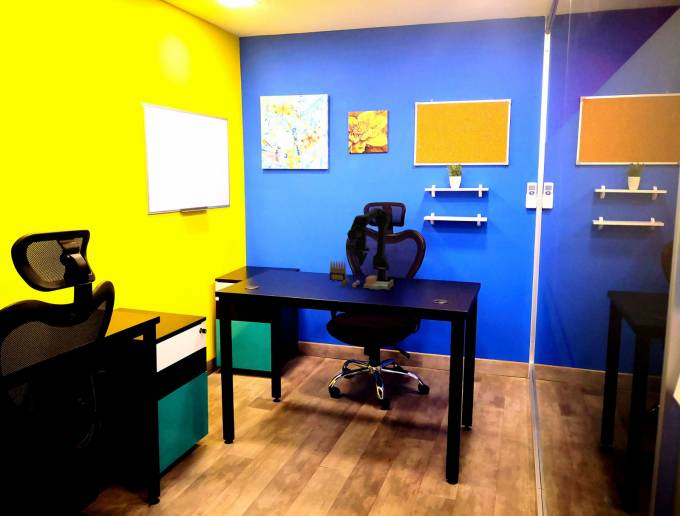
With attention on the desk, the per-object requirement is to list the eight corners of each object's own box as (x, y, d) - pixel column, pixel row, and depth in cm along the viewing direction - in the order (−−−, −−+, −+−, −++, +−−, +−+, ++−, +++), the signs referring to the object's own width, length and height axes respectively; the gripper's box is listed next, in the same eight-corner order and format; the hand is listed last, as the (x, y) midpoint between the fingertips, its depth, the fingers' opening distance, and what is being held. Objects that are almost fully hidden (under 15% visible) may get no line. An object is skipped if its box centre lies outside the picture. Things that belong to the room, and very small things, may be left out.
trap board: (347, 283, 318) (347, 277, 318) (393, 285, 311) (393, 279, 311) (341, 287, 306) (341, 281, 305) (389, 289, 299) (389, 283, 298)
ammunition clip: (346, 281, 323) (346, 261, 322) (345, 282, 322) (345, 262, 320) (330, 280, 328) (330, 260, 326) (329, 280, 326) (329, 260, 325)
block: (369, 281, 313) (369, 275, 313) (376, 281, 312) (376, 275, 312) (365, 284, 303) (365, 278, 303) (372, 284, 302) (373, 278, 302)
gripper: (351, 236, 317) (350, 263, 319) (343, 239, 299) (342, 267, 301) (370, 236, 314) (369, 263, 316) (363, 240, 296) (362, 268, 298)
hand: (360, 265), depth 308 cm, fingers open, 3 cm apart
